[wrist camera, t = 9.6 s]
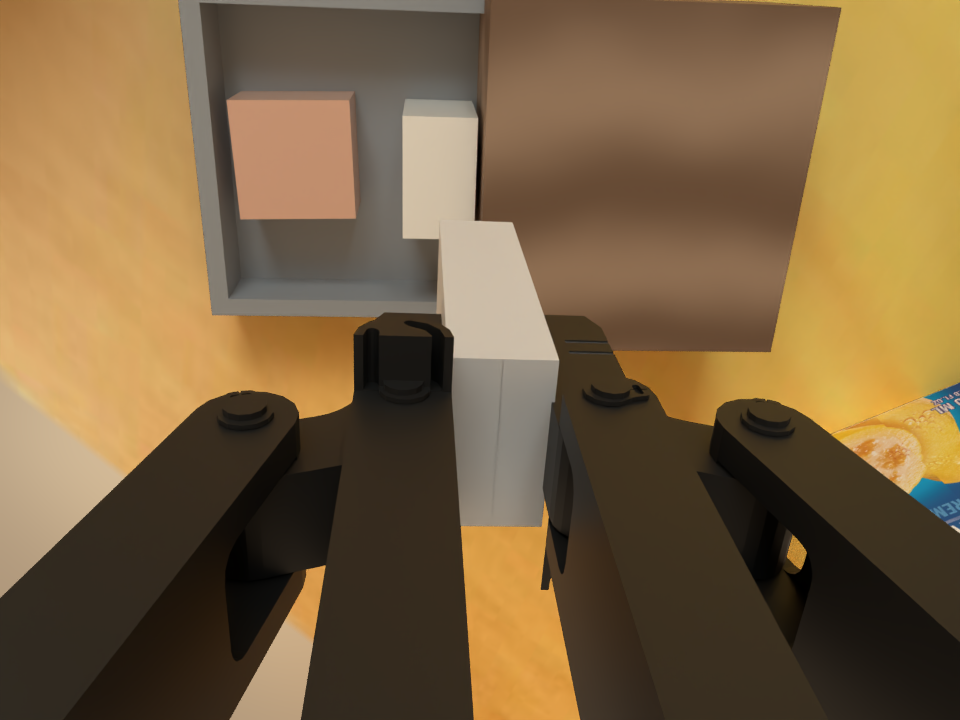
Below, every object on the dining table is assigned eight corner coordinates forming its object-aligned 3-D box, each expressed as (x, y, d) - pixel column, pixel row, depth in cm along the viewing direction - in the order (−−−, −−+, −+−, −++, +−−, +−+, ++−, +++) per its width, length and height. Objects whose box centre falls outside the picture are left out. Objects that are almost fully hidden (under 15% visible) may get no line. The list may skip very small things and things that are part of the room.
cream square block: (471, 100, 37) (405, 98, 37) (478, 118, 33) (402, 115, 32) (468, 209, 39) (405, 207, 39) (473, 239, 35) (402, 238, 34)
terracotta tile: (349, 100, 34) (354, 91, 37) (226, 100, 34) (241, 91, 36) (355, 218, 36) (360, 201, 39) (240, 219, 36) (253, 202, 38)
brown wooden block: (479, -10, 36) (491, -7, 29) (769, 2, 37) (841, 7, 30) (469, 292, 42) (477, 349, 35) (719, 296, 43) (770, 352, 36)
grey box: (198, -22, 35) (176, -21, 32) (479, -10, 36) (485, -9, 33) (228, 288, 41) (212, 315, 38) (469, 292, 42) (472, 318, 38)
